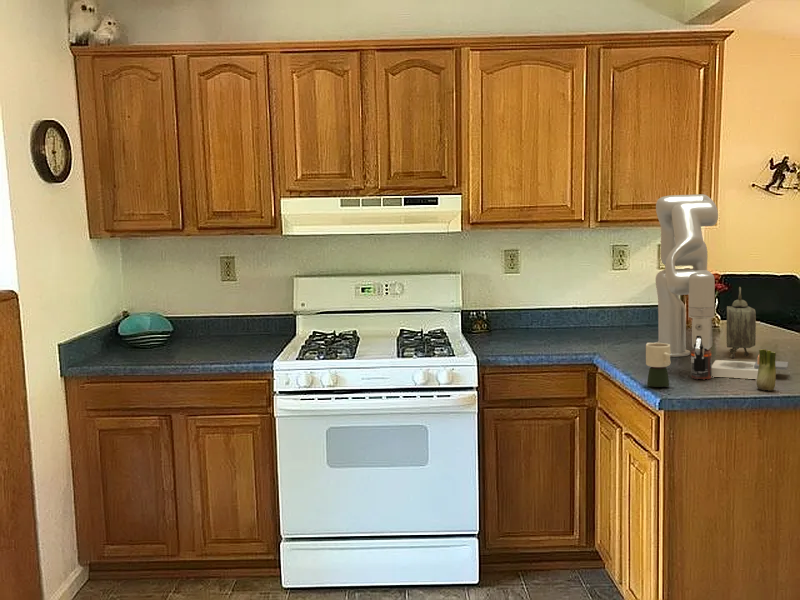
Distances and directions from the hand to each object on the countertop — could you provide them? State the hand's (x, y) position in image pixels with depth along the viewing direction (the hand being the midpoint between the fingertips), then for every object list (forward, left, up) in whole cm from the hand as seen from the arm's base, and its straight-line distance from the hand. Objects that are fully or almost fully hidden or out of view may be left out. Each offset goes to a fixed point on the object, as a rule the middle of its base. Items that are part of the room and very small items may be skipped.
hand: (701, 368), depth 235 cm
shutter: (+19, +10, 0) cm, 22 cm away
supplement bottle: (0, 0, -3) cm, 3 cm away
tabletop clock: (+7, +43, -3) cm, 43 cm away
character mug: (-10, -16, -3) cm, 19 cm away
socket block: (+10, +10, -3) cm, 14 cm away
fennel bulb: (+19, -10, -3) cm, 22 cm away
